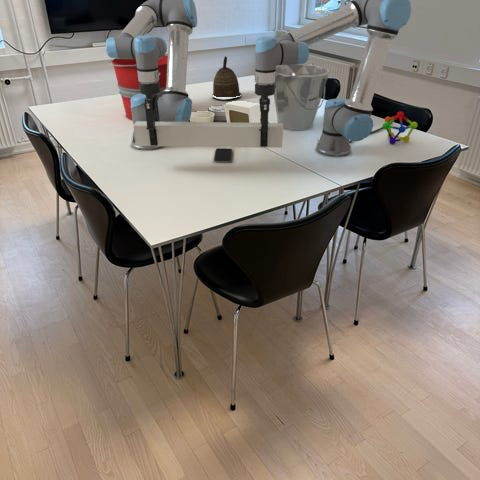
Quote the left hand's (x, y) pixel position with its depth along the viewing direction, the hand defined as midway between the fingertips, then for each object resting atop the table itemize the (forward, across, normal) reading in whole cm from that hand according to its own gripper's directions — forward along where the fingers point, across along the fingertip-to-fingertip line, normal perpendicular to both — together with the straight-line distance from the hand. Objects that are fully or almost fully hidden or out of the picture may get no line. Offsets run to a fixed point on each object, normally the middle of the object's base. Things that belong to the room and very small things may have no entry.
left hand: (155, 142), depth 176 cm
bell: (+13, +117, -24) cm, 120 cm away
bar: (+1, 0, -21) cm, 21 cm away
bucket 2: (+12, +61, -62) cm, 88 cm away
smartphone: (+12, +16, -26) cm, 33 cm away
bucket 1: (+12, +78, +19) cm, 81 cm away
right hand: (0, 0, -43) cm, 43 cm away
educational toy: (+12, +35, -107) cm, 114 cm away
